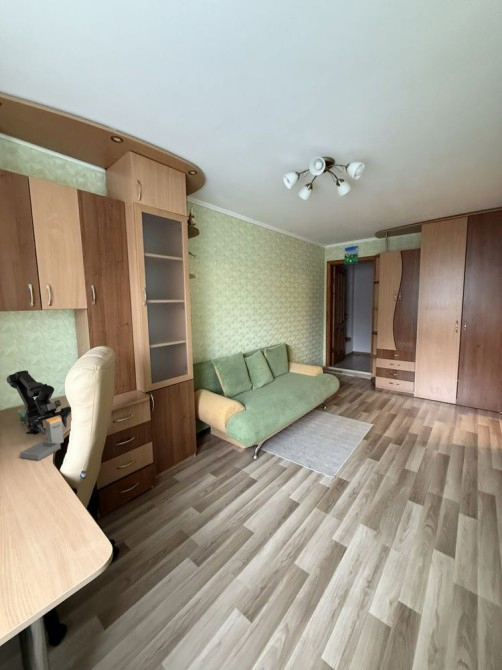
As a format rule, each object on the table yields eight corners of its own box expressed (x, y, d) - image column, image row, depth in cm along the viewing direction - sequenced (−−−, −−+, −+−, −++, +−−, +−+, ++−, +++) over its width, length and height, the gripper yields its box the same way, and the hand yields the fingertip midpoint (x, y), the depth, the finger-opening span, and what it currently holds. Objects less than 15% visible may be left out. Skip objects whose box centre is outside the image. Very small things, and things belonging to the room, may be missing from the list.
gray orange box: (48, 443, 135) (45, 419, 134) (59, 439, 139) (57, 416, 138) (52, 446, 132) (50, 422, 131) (64, 442, 136) (61, 418, 135)
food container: (27, 426, 155) (25, 409, 154) (19, 425, 156) (17, 409, 155) (47, 417, 167) (45, 402, 166) (39, 416, 168) (37, 401, 167)
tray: (20, 458, 122) (20, 452, 122) (43, 446, 133) (42, 440, 132) (38, 461, 120) (38, 455, 120) (60, 448, 130) (60, 443, 130)
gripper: (24, 402, 128) (36, 430, 123) (68, 391, 143) (80, 415, 138) (20, 414, 133) (31, 441, 128) (63, 402, 148) (74, 426, 144)
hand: (55, 430), depth 134 cm, fingers open, 9 cm apart
